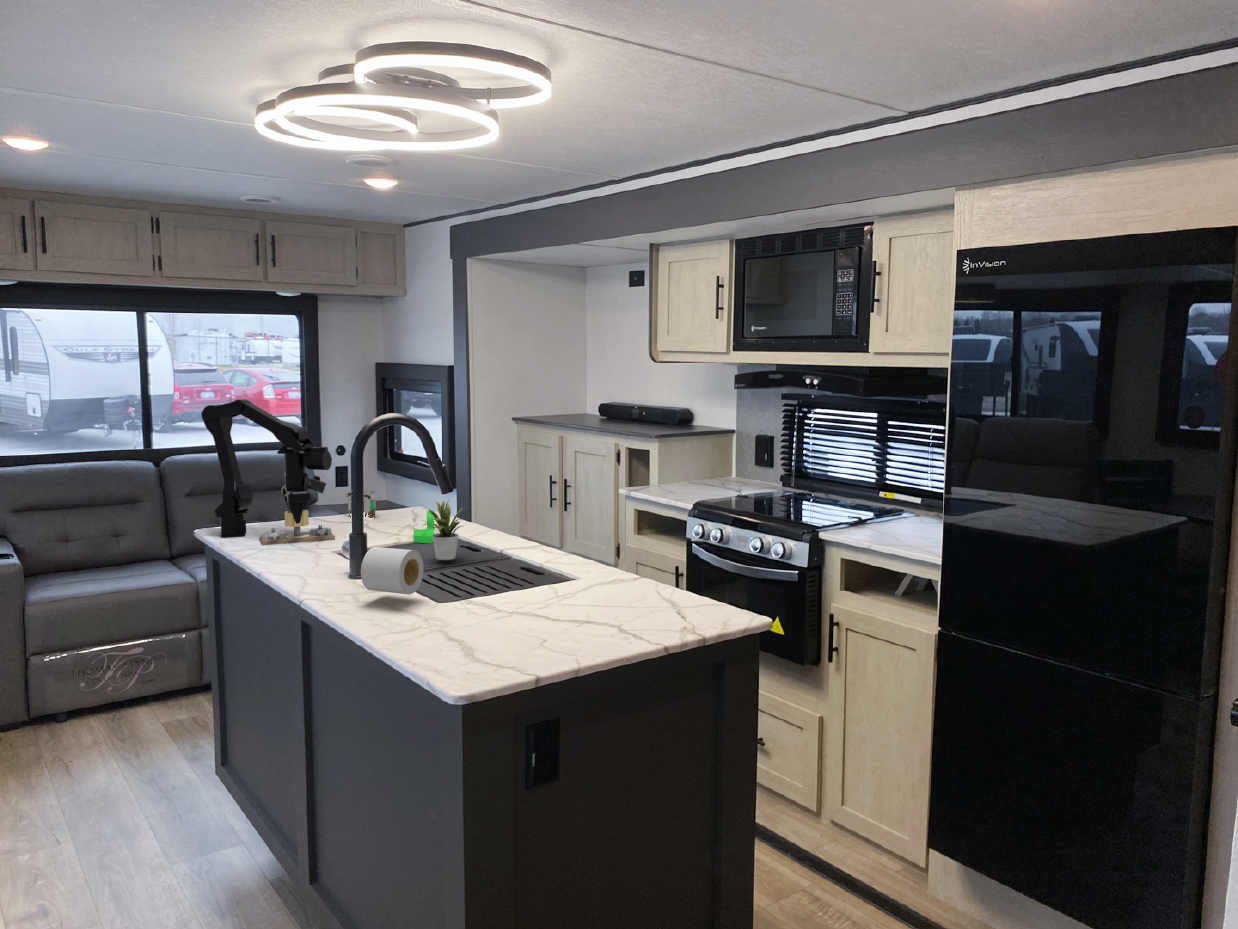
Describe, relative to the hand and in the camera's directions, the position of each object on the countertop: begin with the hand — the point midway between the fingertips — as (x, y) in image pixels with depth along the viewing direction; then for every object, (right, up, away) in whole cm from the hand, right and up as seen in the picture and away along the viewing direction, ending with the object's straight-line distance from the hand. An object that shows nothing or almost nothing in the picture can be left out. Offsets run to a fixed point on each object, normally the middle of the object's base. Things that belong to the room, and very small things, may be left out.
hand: (296, 521), depth 269 cm
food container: (+11, -2, +35) cm, 37 cm away
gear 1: (-6, -5, -2) cm, 8 cm away
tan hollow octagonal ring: (0, -1, 0) cm, 1 cm away
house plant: (+47, -9, -23) cm, 53 cm away
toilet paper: (+44, -13, -61) cm, 76 cm away
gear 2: (+6, -4, +3) cm, 8 cm away
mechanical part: (+37, -6, +5) cm, 38 cm away
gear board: (0, -5, +1) cm, 6 cm away
